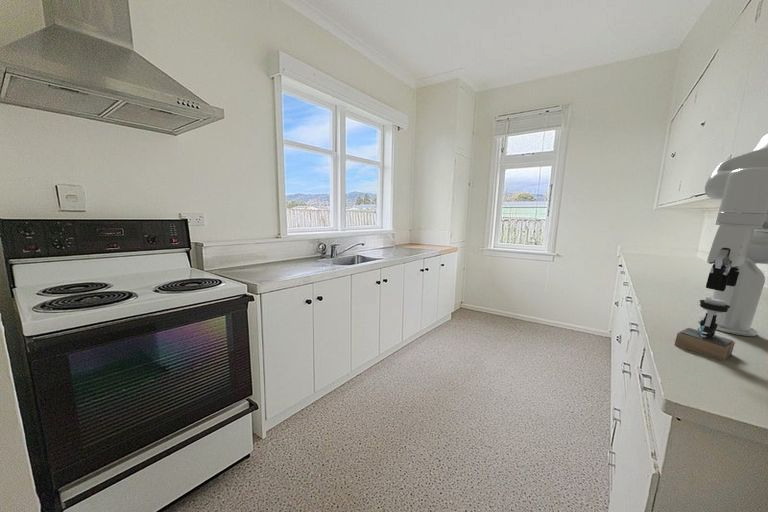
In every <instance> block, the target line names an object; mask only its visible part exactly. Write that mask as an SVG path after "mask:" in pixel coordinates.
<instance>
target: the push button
mask: <svg viewBox="0 0 768 512" xmlns="http://www.w3.org/2000/svg"><path fill="white" fill-rule="evenodd" d="M699 303H700V304H699V306H700V307H701V308H702V309H703V310H705V311H707V312H705V316H704V317H705V318H704V320H701V321H700V323H699V327H698V328H697V330H698V332H699V331H700V334H699V336H702V337H705V338H709V337H710V336H713V337H714V336H715V335H716V331H717V330H716V328H717V325H718V324H716V317H717V315H716V314H717V313H723V312H727V311H728V308H730V306H729V305H726V304H725V303H726V301H724V300H720V299H716V298H712V297H705V298H704V299H699ZM698 332H697V333H698Z"/></svg>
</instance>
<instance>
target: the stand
mask: <svg viewBox="0 0 768 512" xmlns="http://www.w3.org/2000/svg"><path fill="white" fill-rule="evenodd" d="M697 332H698V329H695V328H691V327H687V328H685V329H682V330H680V331H678V332H677V334H676V336H675V341H674V346H677V347H680V348H683V349H687V350H689V351H691V352H695V353H697V354H701V355H704V356H707V357H709V358H712V359H715V360H719V361H722V362H724V361H725V360H726V359H728V358H729V357H730V356H731V355H732V353H733V351H734V347H735V344H736V341H734V340H733V339H730V338H726V337H723V336H719V335H716V334H715V336H714V337H713V336H710V337H709V338H705V337H702V336H699V334H700V330H699V332H698V333H697Z"/></svg>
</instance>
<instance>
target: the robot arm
mask: <svg viewBox="0 0 768 512" xmlns="http://www.w3.org/2000/svg"><path fill="white" fill-rule="evenodd" d="M704 192H705V194H706V196H707V197H708V198H710V199H712V200H720V201H721V202H720V206H719V210H718V213H717V216H716V222H715V224H714V225H715V226H719V227H718V228H717V231H716V233H715V236H714V238H713V241H712V245H711V247H710V250H709V253H708V256H707V260H706V263H707V264H708V265H712V266H711V268H710V270H709V271H710V272H709V274H708V277H707V281H706V284H705V288H706V289H708V290H713V291H712V296H711V298H716V299H720V300H724V301H726V303H725V304H726V305H729V306H730V308H728V311H727V312H723V313H717V314H716V315H717V317H716V324H718V325H717V328H716V330H715V331H720V332H724V333H728V334H733V335H737V336H745V337H756V336H758V331H757V330H756V329H754V328H752V323H753V321H754V318H755V315H756V312H757V308H758V305H759V302H760V299H761V296H762V293H763V290H764V286H765V283H766V276H765V275H764V273H763V272H762V270H761V269H760V268H759V267H758V266H757V265H758V264H761V265H768V133H766V134H765V135H763V136H762V137H761V138H760V140H758V142H757V143H756V145H755V146H754V148H753V149H752V151H749V152H747V153H743V154H741V155H737V156H735V157H732V158H729V159H727V160H725V161H723V162H721V163H720V164H718V165H717V166H716V167H715V168H714V170H713V171H712V173H711V174H710V175H709V177H708V179H707V180H706V183H705V185H704ZM704 318H705V316H701V317H698V321H697V322H698V323H699V324H700V321H701V320H704Z"/></svg>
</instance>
